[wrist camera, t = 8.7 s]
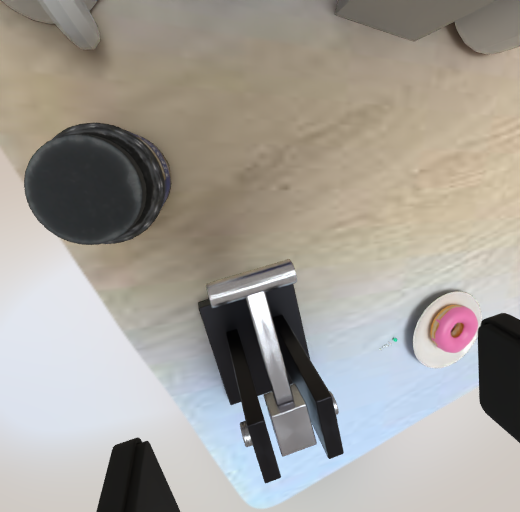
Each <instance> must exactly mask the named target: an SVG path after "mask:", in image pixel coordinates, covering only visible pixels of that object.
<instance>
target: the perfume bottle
mask: <svg viewBox="0 0 520 512" xmlns="http://www.w3.org/2000/svg"><path fill="white" fill-rule="evenodd" d="M494 1H496V0H338V2H337V7H336V12H335V15H337V16H340V17H343V18H346V19H349V20H352V21H355V22H358V23H361V24H364V25H367V26H370V27H373V28H376V29H379V30H382V31H385V32H388V33H391V34H394V35H397V36H400V37H402V38H405V39H408V40H411V41H416V40H418V39H420V38H422V37H424V36H426V35H428V34H430V33H432V32H434V31H436V30H438V29H440V28H442V27H444V26H446V25H448V24H450V23H452V22H454V21H456V20H458V19H460V18H462V17H464V16H466V15H468V14H470V13H472V12H474V11H476V10H478V9H480V8H482V7H484V6H486V5H488V4H490V3H492V2H494Z"/></svg>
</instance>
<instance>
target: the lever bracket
mask: <svg viewBox="0 0 520 512" xmlns="http://www.w3.org/2000/svg"><path fill="white" fill-rule="evenodd" d="M265 294H266V298H267V302H268V305H269V309H270V313H271V317H272V320H273V324H274V328H275V331H276V335H277V339H278V342H279V346H280V350H281V353H282V357H283V361H284V365H285V368H286V372H287V376H288V379H289V383H290V385H291V384H296V385H297V387H298V389H299V391H300V393H301V395H302V397H303V399H304V401H305V403H306V405H307V408H308V412H309V416H310V420H311V423H312V425H313V427H314V429H315V431H316V433H317V435H318V437H319V440H320V442H321V444H322V446H323V448H324V450H325V452H326V454H327V457H328V458H329V459H331V458H333V457H336V456H339V455H341V454H343V453H344V452H343V447H342V442H341V437H340V432H339V428H338V423H337V418H336V415H337V414H338V413H339V412H338V407H337V404H336V401H335V399H334V396H333V395H332V393H331V392H330V391H329V390H328V389H327V387H326V385H325V384H324V382H323V381H322V379H321V377H320V376H319V374H318V372H317V371H316V369H315V367H314V366H313V364H312V362H311V361H310V357H309V353H308V348H307V344H306V339H305V335H304V330H303V326H302V321H301V317H300V312H299V308H298V303H297V299H296V294H295V290H294V285H293V284H291V285H287V286H284V287H281V288H278V289H274V290H271V291H268V292H265ZM198 305H199V311H200V314H201V317H202V320H203V323H204V326H205V329H206V332H207V335H208V338H209V341H210V344H211V347H212V350H213V353H214V356H215V359H216V362H217V366H218V369H219V372H220V375H221V378H222V381H223V384H224V387H225V390H226V393H227V396H228V399H229V402H230V405H233V404H236V403H239V402H242V407H243V411H244V415H245V420H246V421H243V422H241V423H240V428H241V432H242V436H243V440H244V443H245V446H246V447H249V446H252V445H253V447H254V450H255V453H256V457H257V460H258V463H259V466H260V469H261V472H262V475H263V479H264V482H265V483H268V482H271V481H273V480H276V479H279V478H281V475H280V472H279V468H278V465H277V461H276V458H275V455H274V451H273V448H272V444H271V441H270V438H269V434H268V431H267V427H266V424H265V420H264V417H263V414H262V410H261V407H260V404H259V400H258V397H257V396H259V395H262V394H265V393H268V392H270V391H272V390H271V386H270V383H269V379H268V376H267V372H266V369H265V365H264V361H263V358H262V354H261V351H260V347H259V344H258V340H257V337H256V333H255V330H254V326H253V323H252V319H251V316H250V312H249V309H248V305H247V302H246V298H245V299H242V300H239V301H235V302H232V303H229V304H226V305H223V306H219V307H216V308H212V305H211V303H210V299H209V300H205V301H202V302H199V303H198Z"/></svg>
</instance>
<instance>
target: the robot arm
mask: <svg viewBox="0 0 520 512" xmlns="http://www.w3.org/2000/svg"><path fill="white" fill-rule="evenodd" d="M478 360H479V397H480V404H481V406H482V408H483V410H484V411H485V413H486V414H487V415H489V416H490V417H491V418H492V419H493V420H494V421H495V422H497V423H498V424H499V425H500V426H501V427H502V428H503V429H505V430H506V431H507V432H508V433H509V434H510V435H511V436H513V437H514V438H515V439H516V440H517V441H518V442H519V443H520V320H519V319H517V318H515V317H513V316H511V315H509V314H506V313H501V314H498V315H495V316H492V317H489V318H486V319H484V320H482V322H481V326H480V327H479V328H478ZM97 512H180V510H179V508H178V505H177V503H176V501H175V499H174V496H173V494H172V492H171V490H170V487H169V485H168V483H167V481H166V478H165V476H164V474H163V472H162V469H161V467H160V465H159V463H158V461H157V458H156V456H155V454H154V452H153V449H152V447H151V445H150V443H149V442H148V441H145V442H142V441H141V439H140V438H135V439H132V440H129V441H126V442H123V443H120V444H117V445H115V446H114V447H113V450H112V453H111V457H110V461H109V465H108V469H107V473H106V476H105V480H104V484H103V488H102V492H101V496H100V500H99V504H98V508H97Z"/></svg>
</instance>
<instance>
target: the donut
mask: <svg viewBox="0 0 520 512" xmlns="http://www.w3.org/2000/svg"><path fill="white" fill-rule="evenodd" d="M481 320H482V315H481V309H480V305H479V304H478V302H477V300H476V299H475V298H474V297H473V296H472V295H470V294H468V293H466V292H461V291H458V292H451V293H447V294H445V295H443V296H441V297H439V298H438V299H436V300H435V301H433V302H432V303H431V304H430V305H429V306H428V307H427V308H426V310H425V311H424V312H423V313H422V315H421V317H420V318H419V320H418V322H417V325H416V327H415V330H414V335H413V349H414V353H415V355H416V358H417V359H418V360H419V362H420V363H422V364H423V365H424V366H427V367H430V368H443V367H446V366H449V365H451V364H453V363H455V362H457V361H458V360H459V359H461V358H462V357H463V356H464V355H465V354H466V353H467V352H468V351H469V350H470V348H471V347H472V346H473V344H474V342H475V340H476V339H477V336H478V328H479V327H480V326H481ZM393 340H394V341H395V342H396V341H397V339H396V338H394V339H393ZM389 344H391V343H389ZM386 345H387V344H386ZM384 346H385V345H384ZM387 346H389V345H387ZM385 347H386V346H385ZM382 348H383V346H382ZM379 349H381V348H379Z"/></svg>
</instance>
